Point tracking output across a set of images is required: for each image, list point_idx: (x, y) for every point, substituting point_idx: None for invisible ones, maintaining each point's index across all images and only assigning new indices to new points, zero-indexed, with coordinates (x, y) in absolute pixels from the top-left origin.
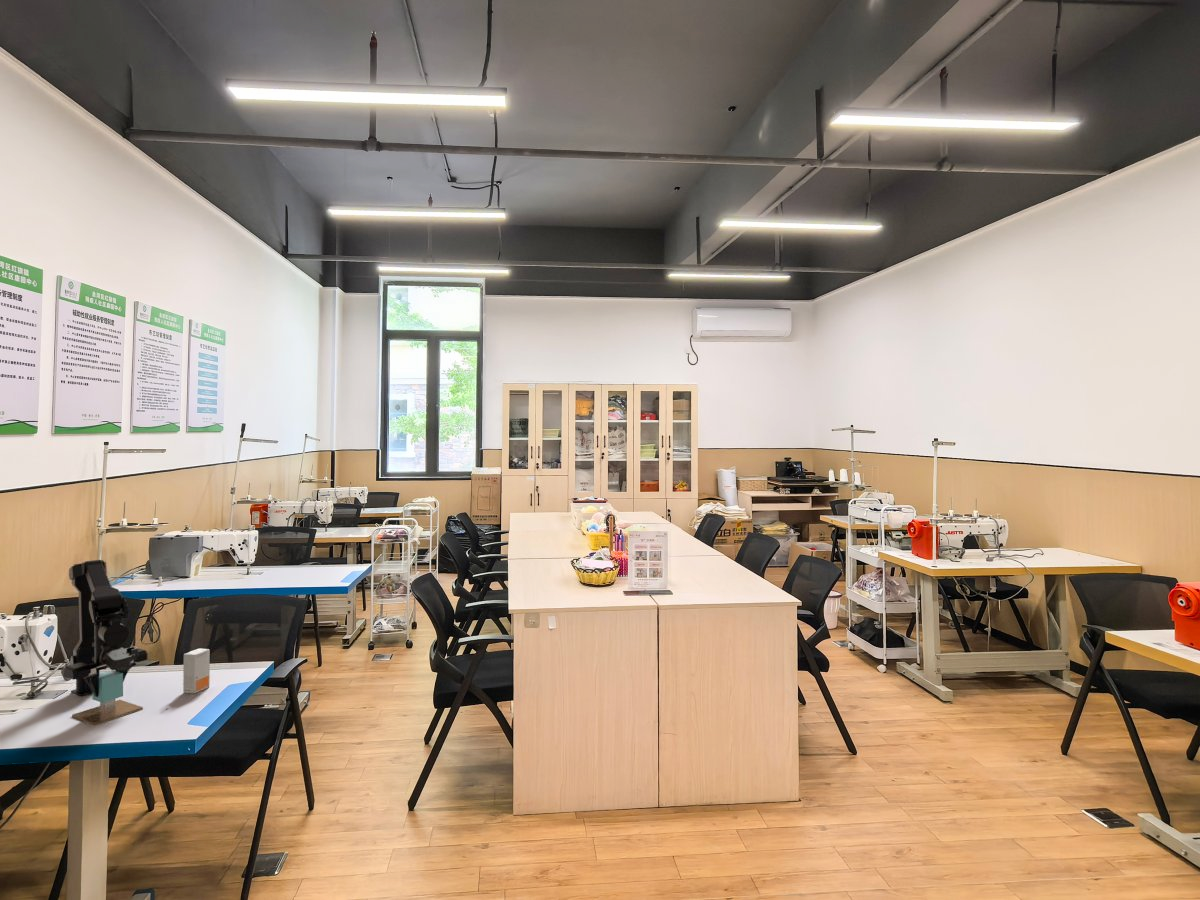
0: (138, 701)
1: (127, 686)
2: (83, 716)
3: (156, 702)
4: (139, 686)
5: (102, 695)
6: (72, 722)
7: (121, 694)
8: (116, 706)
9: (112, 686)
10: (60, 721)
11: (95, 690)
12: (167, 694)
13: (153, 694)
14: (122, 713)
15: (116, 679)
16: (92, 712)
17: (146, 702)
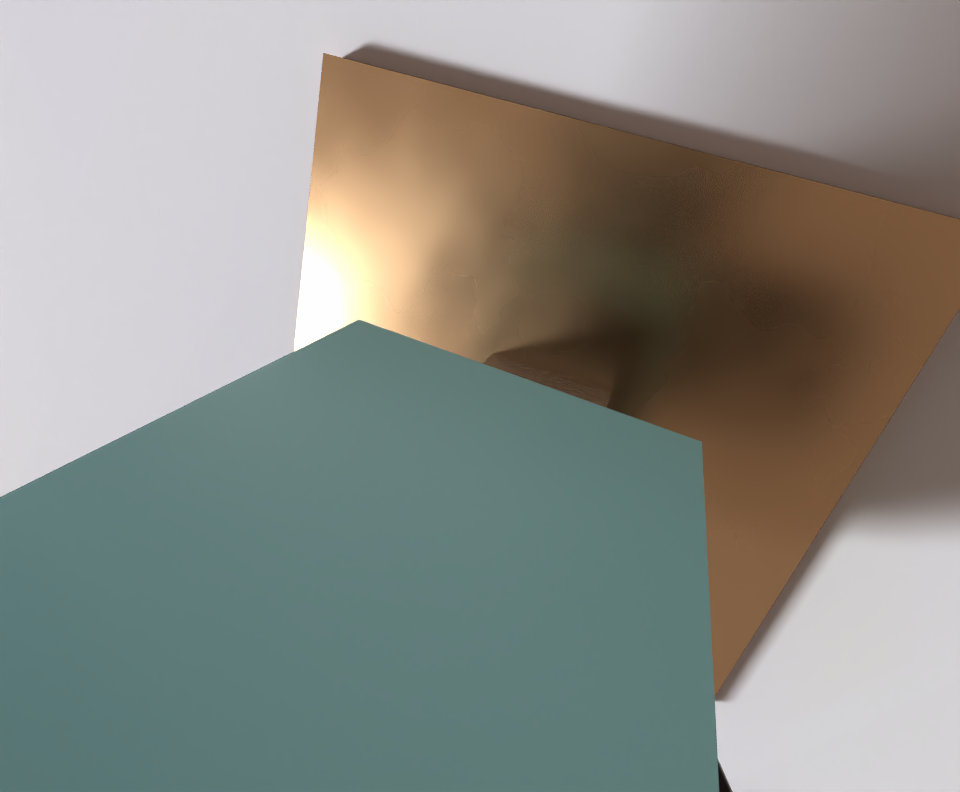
0: (219, 346)
1: None
2: (737, 579)
3: (154, 98)
4: None
5: (698, 524)
6: (861, 606)
7: (361, 340)
8: None
9: (417, 523)
10: (833, 737)
11: (721, 787)
12: (4, 195)
13: (72, 345)
14: (574, 133)
15: (176, 599)
16: None
17: (200, 229)
